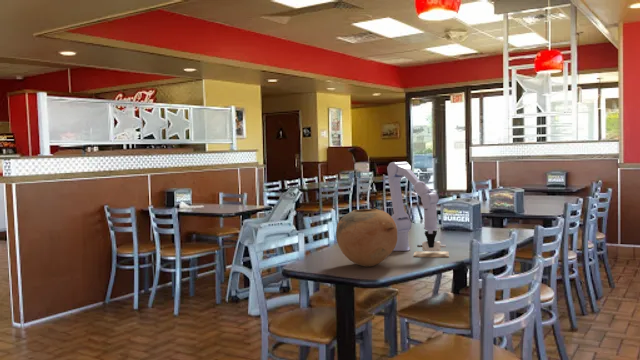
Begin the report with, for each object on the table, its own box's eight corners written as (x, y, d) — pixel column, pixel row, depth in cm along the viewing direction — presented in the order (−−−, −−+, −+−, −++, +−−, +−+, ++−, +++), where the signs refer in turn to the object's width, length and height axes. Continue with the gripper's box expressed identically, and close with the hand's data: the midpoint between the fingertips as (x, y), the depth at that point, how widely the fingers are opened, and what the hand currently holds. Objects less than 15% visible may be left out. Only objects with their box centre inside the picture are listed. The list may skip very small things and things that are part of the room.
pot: (320, 266, 248) (318, 210, 246) (361, 256, 266) (359, 204, 265) (375, 276, 225) (373, 214, 224) (415, 264, 244) (413, 207, 243)
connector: (417, 251, 264) (417, 242, 264) (417, 249, 267) (417, 241, 267) (445, 251, 261) (445, 242, 261) (445, 249, 265) (445, 241, 264)
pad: (413, 257, 261) (413, 255, 261) (414, 253, 271) (414, 251, 271) (448, 257, 258) (448, 255, 258) (448, 253, 268) (448, 251, 268)
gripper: (439, 219, 256) (439, 249, 256) (439, 216, 270) (439, 244, 271) (423, 220, 257) (424, 249, 258) (424, 216, 271) (425, 244, 272)
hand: (431, 246), depth 264 cm, fingers closed on connector, 3 cm apart
